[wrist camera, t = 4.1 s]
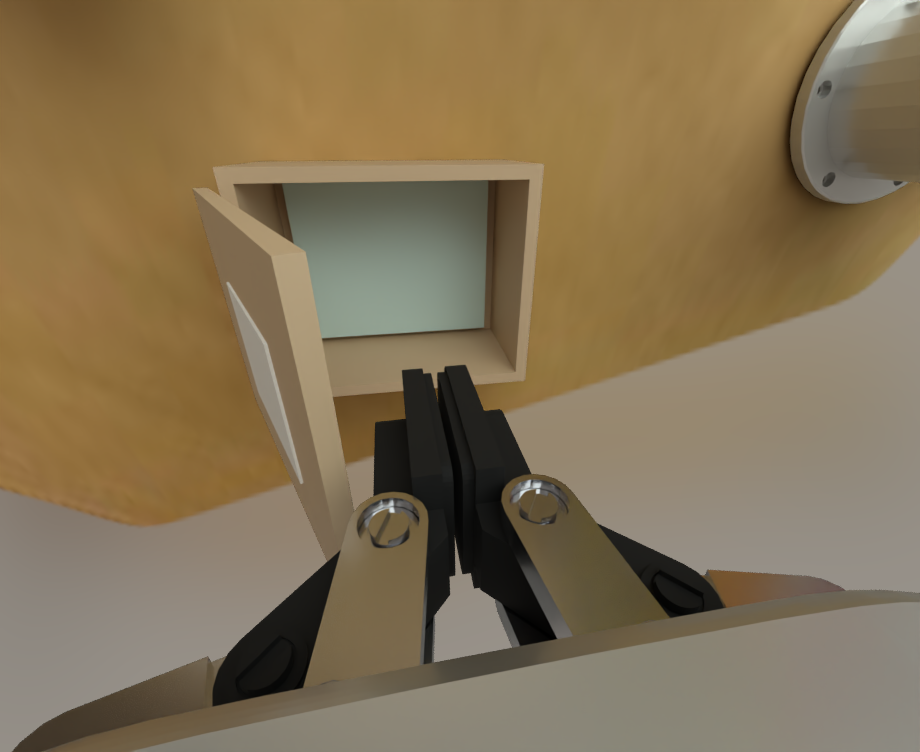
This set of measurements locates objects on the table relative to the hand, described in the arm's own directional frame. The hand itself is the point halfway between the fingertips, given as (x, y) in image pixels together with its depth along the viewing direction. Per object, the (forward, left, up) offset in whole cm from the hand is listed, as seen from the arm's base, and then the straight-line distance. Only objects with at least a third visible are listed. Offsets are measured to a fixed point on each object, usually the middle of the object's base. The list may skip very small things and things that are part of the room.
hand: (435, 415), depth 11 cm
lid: (+5, 0, -4) cm, 6 cm away
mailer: (+1, 0, -17) cm, 17 cm away
